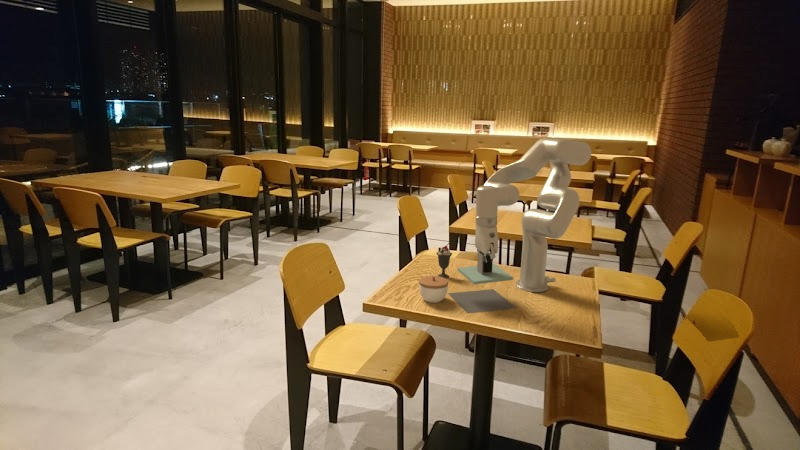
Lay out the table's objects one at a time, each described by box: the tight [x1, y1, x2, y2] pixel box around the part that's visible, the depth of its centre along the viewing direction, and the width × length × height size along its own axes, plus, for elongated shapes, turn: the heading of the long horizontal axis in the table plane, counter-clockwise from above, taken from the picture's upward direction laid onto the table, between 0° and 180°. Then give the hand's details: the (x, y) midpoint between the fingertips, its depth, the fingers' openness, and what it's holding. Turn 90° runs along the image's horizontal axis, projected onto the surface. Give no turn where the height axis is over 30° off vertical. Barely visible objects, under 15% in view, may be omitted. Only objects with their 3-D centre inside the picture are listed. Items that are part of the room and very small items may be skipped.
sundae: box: [436, 242, 453, 279], centre depth 199 cm, size 7×7×15 cm
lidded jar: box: [418, 275, 449, 304], centre depth 174 cm, size 11×11×9 cm
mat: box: [447, 288, 518, 314], centre depth 175 cm, size 19×19×1 cm
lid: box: [456, 252, 514, 285], centre depth 172 cm, size 15×15×8 cm
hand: (484, 269), depth 172 cm, fingers closed on lid, 4 cm apart
